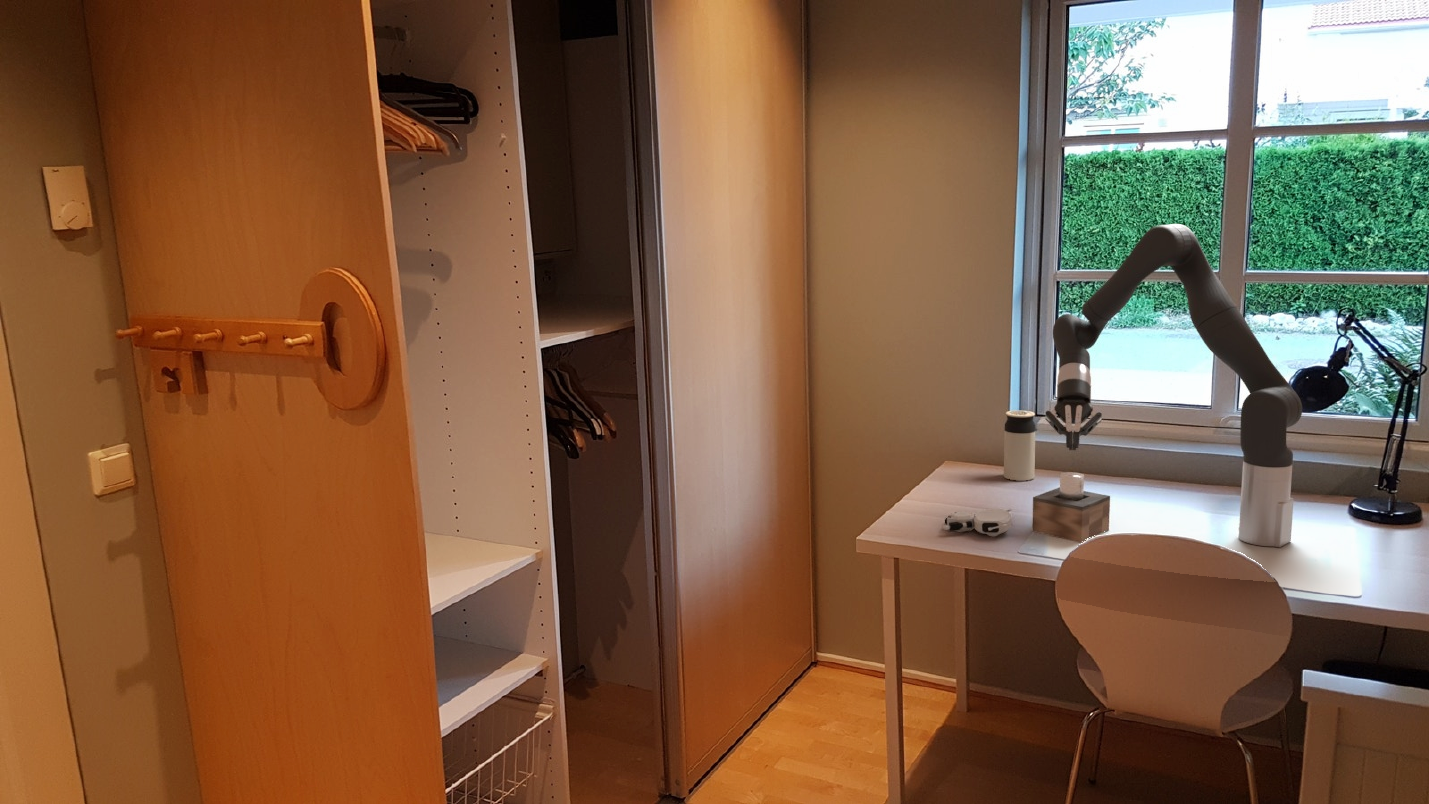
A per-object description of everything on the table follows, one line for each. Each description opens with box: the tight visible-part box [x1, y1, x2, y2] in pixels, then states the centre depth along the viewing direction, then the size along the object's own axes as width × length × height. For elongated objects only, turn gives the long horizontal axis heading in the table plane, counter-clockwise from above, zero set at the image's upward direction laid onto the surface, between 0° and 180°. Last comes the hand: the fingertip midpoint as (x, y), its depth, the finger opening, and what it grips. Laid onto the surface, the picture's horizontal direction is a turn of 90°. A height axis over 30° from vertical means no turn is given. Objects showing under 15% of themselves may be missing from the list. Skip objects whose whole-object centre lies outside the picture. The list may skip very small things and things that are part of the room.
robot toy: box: [941, 508, 1013, 537], centre depth 232 cm, size 12×4×15 cm
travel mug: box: [1003, 409, 1036, 482], centre depth 275 cm, size 8×8×18 cm
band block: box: [1031, 486, 1111, 543], centre depth 229 cm, size 12×12×8 cm
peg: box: [1059, 471, 1085, 502], centre depth 228 cm, size 5×5×8 cm
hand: (1072, 448), depth 232 cm, fingers closed
